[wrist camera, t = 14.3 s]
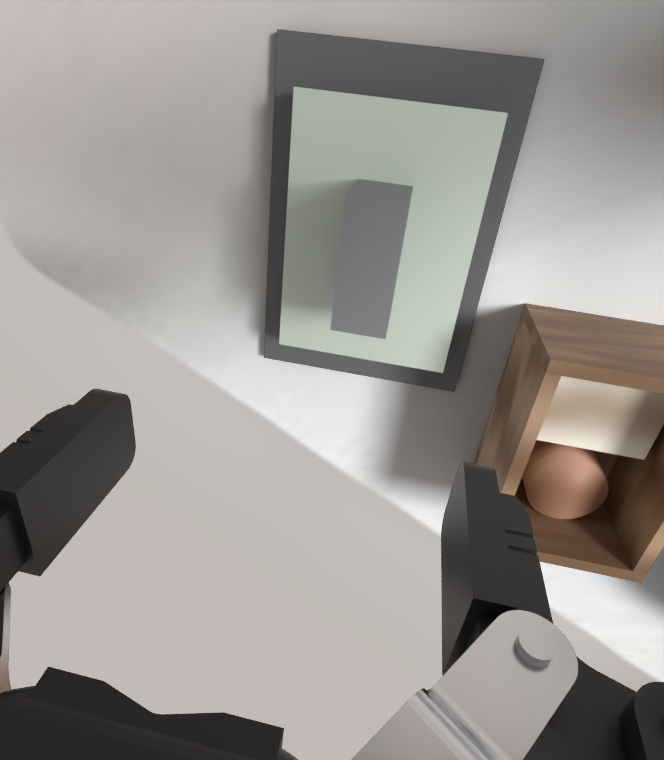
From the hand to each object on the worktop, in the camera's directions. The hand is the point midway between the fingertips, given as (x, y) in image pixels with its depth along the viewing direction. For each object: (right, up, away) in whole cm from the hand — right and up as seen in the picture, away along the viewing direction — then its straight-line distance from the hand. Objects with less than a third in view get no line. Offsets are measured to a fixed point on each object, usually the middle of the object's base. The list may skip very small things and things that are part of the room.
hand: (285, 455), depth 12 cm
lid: (+4, +10, +18) cm, 21 cm away
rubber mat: (+4, +11, +20) cm, 23 cm away
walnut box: (+18, 0, +23) cm, 29 cm away
